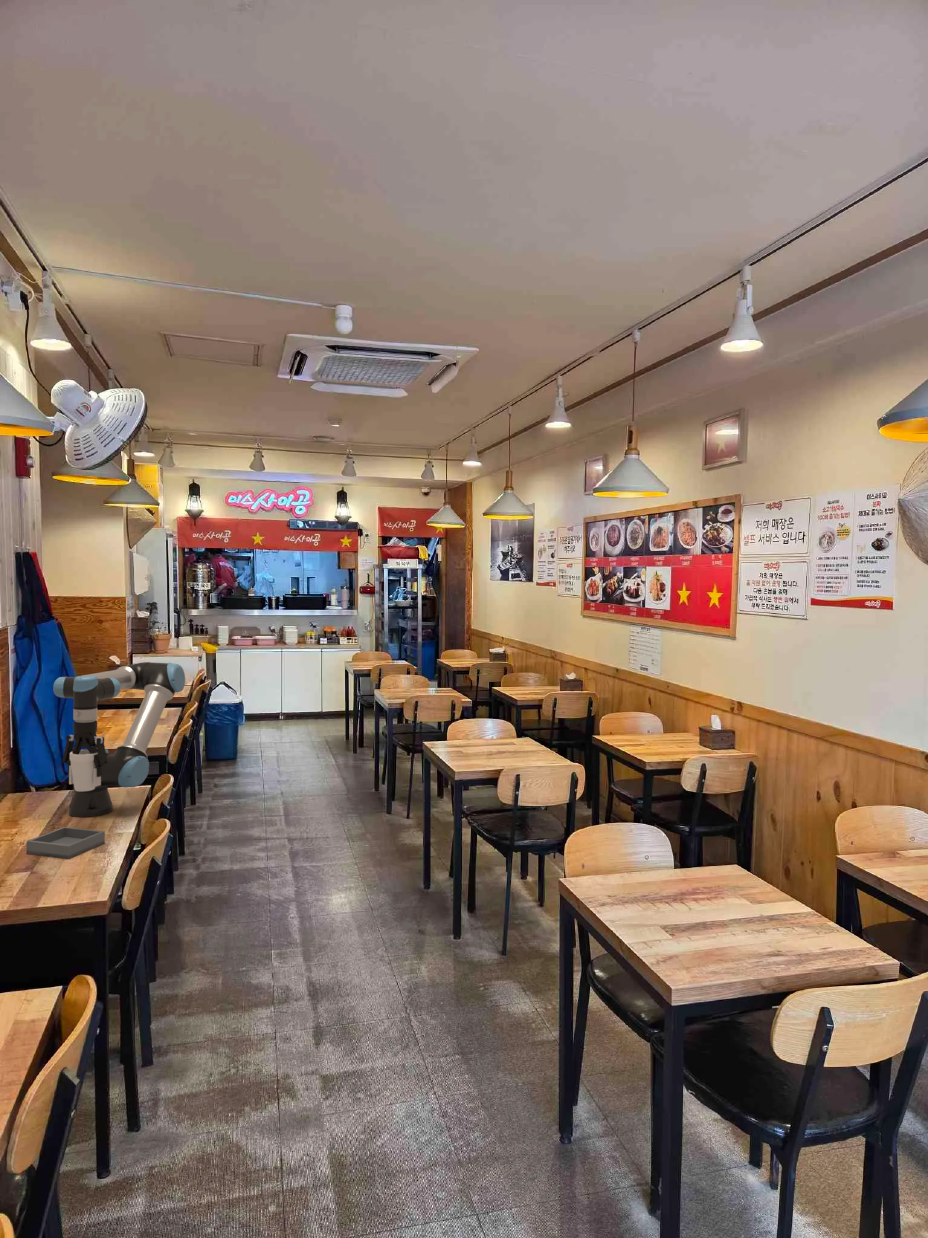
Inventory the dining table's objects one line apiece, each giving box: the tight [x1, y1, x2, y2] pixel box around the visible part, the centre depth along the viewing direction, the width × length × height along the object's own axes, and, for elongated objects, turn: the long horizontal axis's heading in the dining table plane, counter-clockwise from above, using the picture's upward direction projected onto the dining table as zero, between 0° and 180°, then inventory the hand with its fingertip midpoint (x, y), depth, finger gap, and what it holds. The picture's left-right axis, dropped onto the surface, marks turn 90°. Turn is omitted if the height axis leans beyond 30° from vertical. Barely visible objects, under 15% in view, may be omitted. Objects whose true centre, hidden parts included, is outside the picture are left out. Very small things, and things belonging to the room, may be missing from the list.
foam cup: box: [70, 748, 98, 792], centre depth 264 cm, size 10×9×13 cm
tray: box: [25, 826, 106, 860], centre depth 248 cm, size 16×16×4 cm
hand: (84, 784), depth 265 cm, fingers closed on foam cup, 9 cm apart
